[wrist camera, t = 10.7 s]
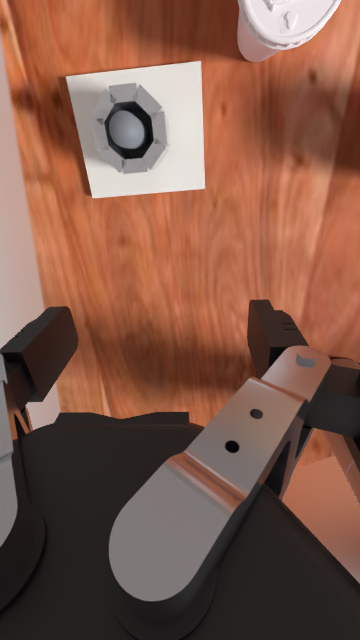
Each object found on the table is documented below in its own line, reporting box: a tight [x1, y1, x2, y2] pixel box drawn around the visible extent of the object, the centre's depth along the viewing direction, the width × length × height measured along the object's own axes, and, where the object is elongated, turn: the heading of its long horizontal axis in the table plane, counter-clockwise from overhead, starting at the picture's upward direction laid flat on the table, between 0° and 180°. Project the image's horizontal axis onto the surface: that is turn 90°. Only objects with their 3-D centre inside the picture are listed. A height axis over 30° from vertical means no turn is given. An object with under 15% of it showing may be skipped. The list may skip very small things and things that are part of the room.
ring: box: [90, 83, 171, 174], centre depth 23 cm, size 6×6×5 cm
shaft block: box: [66, 61, 205, 198], centre depth 24 cm, size 12×10×9 cm
